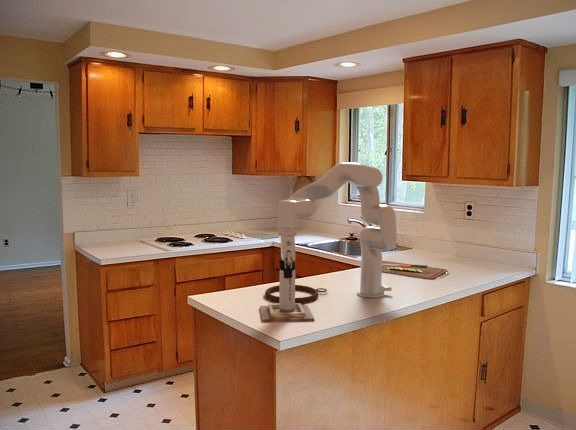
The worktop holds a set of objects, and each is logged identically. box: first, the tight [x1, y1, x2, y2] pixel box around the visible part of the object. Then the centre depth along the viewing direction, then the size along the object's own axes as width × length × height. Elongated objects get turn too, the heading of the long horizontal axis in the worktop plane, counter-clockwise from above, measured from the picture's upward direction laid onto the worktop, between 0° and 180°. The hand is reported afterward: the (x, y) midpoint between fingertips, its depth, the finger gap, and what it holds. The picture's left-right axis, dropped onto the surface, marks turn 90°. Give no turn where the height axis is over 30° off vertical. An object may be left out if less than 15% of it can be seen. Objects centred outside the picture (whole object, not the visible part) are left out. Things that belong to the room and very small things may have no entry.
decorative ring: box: [264, 284, 328, 305], centre depth 236 cm, size 24×3×30 cm
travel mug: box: [278, 259, 296, 312], centre depth 207 cm, size 6×7×20 cm
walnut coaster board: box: [259, 303, 315, 323], centre depth 208 cm, size 20×18×2 cm
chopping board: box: [382, 260, 451, 280], centre depth 292 cm, size 45×27×3 cm, turn 55°
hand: (286, 275), depth 207 cm, fingers closed on travel mug, 6 cm apart
